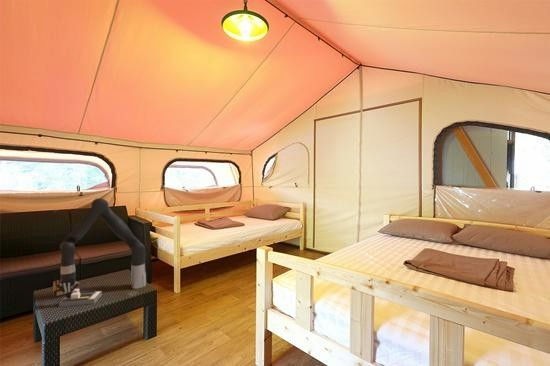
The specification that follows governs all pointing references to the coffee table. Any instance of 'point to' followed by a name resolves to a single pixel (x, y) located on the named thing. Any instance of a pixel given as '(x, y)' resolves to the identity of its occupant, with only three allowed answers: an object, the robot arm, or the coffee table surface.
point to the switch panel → (82, 298)
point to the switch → (75, 295)
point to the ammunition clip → (57, 290)
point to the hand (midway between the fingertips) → (68, 297)
